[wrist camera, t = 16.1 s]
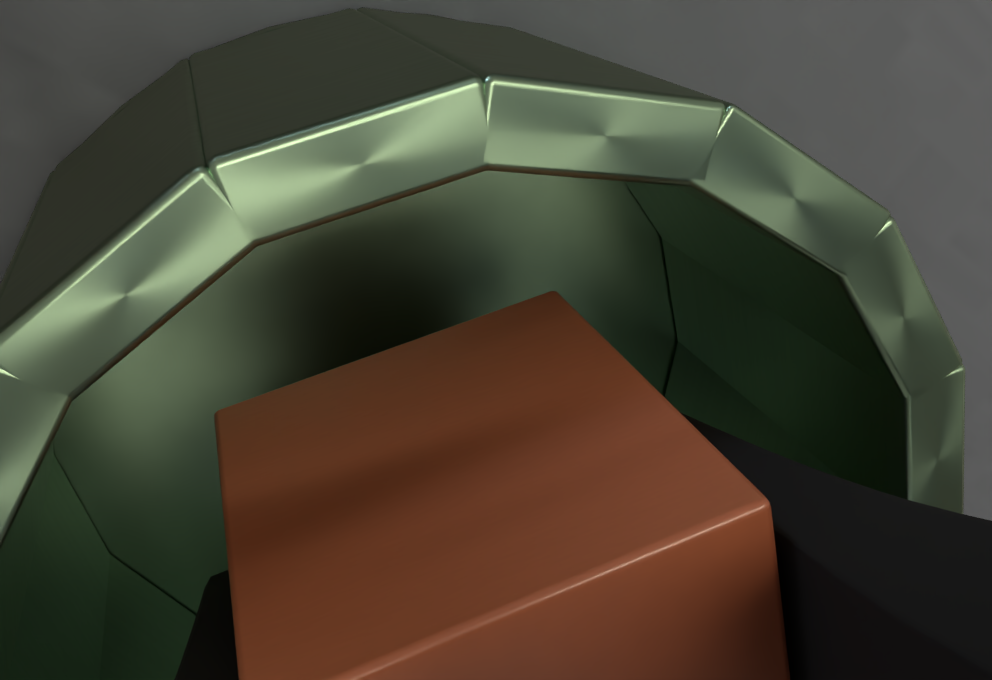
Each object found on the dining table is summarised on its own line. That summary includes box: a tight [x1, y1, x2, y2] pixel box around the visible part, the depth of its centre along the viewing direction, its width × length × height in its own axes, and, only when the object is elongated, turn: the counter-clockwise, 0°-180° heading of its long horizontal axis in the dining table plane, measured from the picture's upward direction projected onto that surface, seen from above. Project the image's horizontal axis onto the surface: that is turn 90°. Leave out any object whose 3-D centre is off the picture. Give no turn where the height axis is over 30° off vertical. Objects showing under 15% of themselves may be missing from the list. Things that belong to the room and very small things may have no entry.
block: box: [214, 291, 790, 680], centre depth 11 cm, size 4×4×5 cm
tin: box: [0, 7, 965, 680], centre depth 13 cm, size 12×12×6 cm
